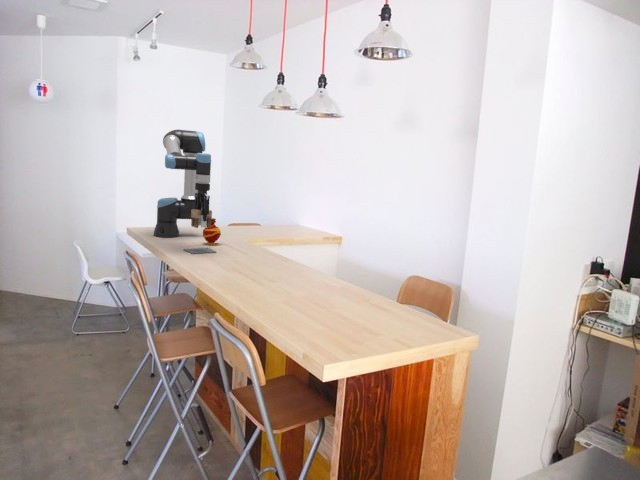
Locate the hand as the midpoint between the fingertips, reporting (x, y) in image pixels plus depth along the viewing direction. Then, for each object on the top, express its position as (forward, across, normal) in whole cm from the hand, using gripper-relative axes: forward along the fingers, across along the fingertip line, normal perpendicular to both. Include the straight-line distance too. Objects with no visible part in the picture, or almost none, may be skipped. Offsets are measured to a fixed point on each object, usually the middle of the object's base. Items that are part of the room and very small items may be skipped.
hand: (200, 226), depth 259 cm
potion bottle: (+14, -18, +15) cm, 27 cm away
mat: (+14, 0, 0) cm, 14 cm away
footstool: (0, 0, 0) cm, 0 cm away
